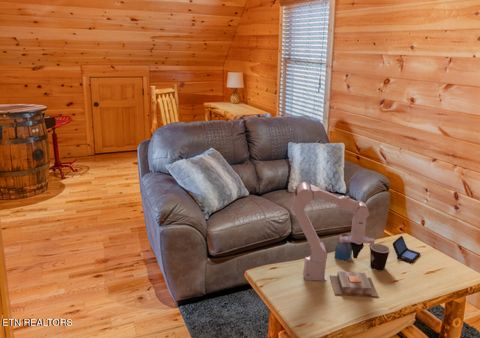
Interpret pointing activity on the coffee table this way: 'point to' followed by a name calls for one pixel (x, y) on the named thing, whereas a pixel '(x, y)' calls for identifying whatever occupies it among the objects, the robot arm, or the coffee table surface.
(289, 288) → the coffee table surface
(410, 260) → the handheld game console
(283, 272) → the coffee table surface
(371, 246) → the coffee mug
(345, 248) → the perfume bottle
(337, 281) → the button board
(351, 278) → the button
